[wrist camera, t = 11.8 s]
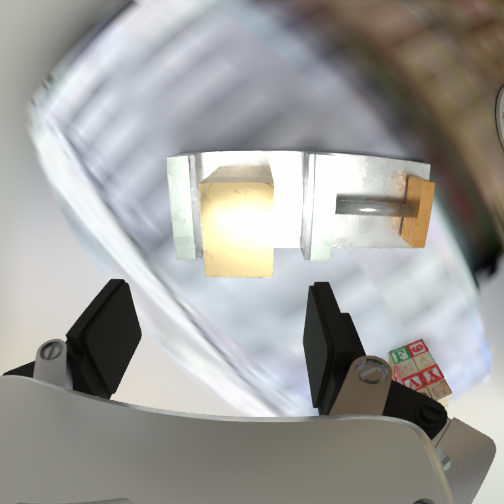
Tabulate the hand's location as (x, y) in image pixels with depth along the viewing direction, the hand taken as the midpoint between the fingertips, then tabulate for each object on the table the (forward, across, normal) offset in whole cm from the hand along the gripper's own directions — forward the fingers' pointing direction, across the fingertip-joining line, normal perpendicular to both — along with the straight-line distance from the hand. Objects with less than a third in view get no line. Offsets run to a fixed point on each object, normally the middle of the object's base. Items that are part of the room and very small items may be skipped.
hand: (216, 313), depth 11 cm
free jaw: (+18, -13, 0) cm, 22 cm away
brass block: (+18, 0, 0) cm, 18 cm away
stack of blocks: (+20, -28, +32) cm, 47 cm away
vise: (+20, -7, 0) cm, 21 cm away
